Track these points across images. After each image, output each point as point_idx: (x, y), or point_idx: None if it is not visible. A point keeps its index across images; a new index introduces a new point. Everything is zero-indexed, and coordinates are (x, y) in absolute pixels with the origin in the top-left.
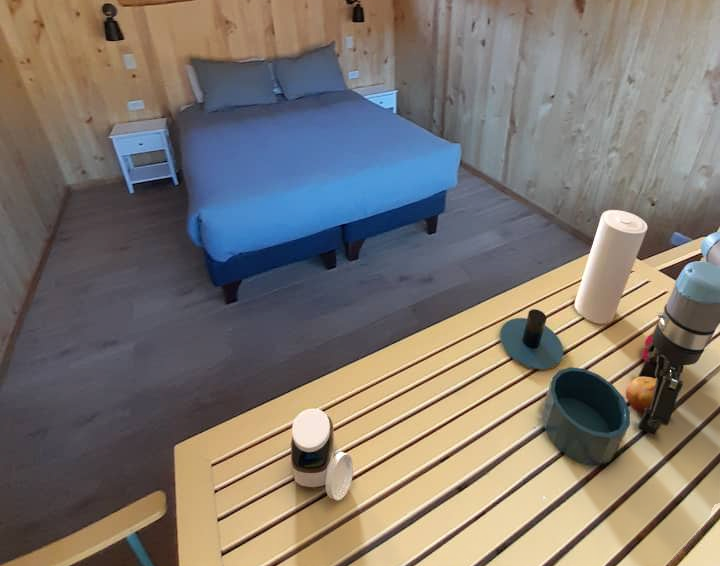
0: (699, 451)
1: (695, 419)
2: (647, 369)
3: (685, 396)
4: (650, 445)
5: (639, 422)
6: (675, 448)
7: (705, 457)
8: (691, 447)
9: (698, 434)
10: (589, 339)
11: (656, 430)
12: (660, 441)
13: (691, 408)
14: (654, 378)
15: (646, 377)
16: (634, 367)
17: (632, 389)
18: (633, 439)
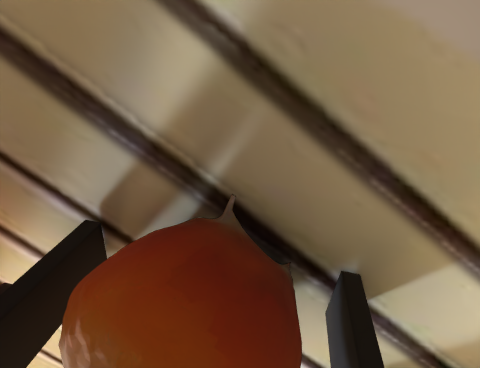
0: (397, 78)
1: (167, 44)
2: (21, 355)
3: (37, 66)
4: (410, 291)
5: (328, 333)
6: (404, 201)
7: (436, 49)
8: (379, 119)
9: (271, 52)
10: None
11: (369, 311)
12: (379, 252)
13: (100, 50)
14: (62, 360)
15: None
16: (39, 250)
17: None
18: (394, 334)
